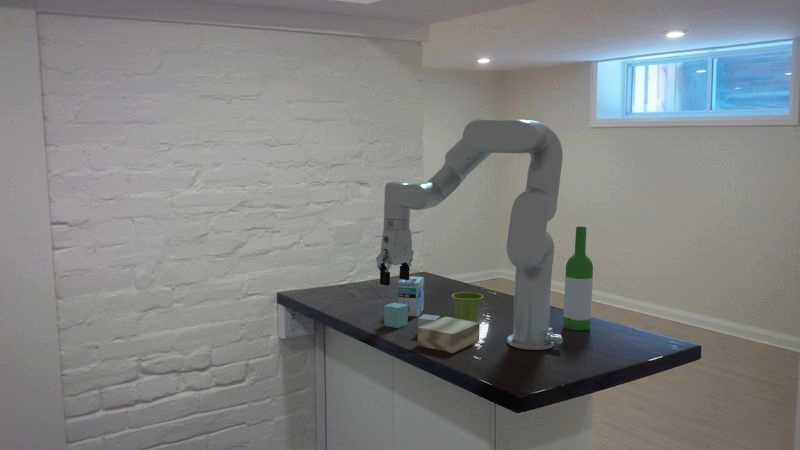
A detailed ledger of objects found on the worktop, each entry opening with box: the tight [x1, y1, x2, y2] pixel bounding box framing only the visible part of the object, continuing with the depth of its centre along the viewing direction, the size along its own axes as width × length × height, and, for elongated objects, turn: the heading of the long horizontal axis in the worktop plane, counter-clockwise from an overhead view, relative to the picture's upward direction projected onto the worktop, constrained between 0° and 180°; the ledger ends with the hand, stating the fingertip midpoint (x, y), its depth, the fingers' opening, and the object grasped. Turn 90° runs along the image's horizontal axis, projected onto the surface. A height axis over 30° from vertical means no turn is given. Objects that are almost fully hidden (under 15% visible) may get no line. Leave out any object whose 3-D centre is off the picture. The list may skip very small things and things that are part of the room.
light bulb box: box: [397, 275, 425, 318], centre depth 223 cm, size 11×7×11 cm, turn 168°
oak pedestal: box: [417, 316, 481, 354], centre depth 191 cm, size 11×14×5 cm
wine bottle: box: [562, 226, 594, 332], centre depth 206 cm, size 8×8×30 cm
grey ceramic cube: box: [417, 313, 441, 328], centre depth 200 cm, size 5×5×5 cm
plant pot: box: [451, 291, 484, 323], centre depth 211 cm, size 9×9×9 cm
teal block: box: [383, 302, 409, 329], centre depth 209 cm, size 5×5×6 cm
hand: (394, 282), depth 208 cm, fingers open, 9 cm apart
